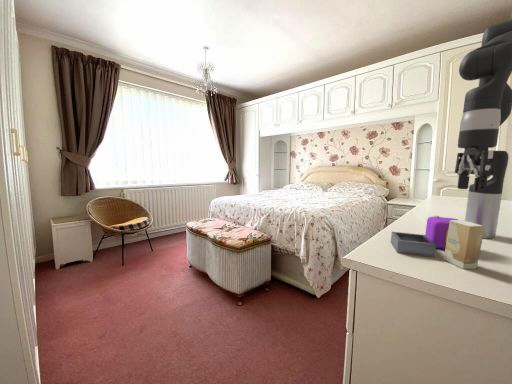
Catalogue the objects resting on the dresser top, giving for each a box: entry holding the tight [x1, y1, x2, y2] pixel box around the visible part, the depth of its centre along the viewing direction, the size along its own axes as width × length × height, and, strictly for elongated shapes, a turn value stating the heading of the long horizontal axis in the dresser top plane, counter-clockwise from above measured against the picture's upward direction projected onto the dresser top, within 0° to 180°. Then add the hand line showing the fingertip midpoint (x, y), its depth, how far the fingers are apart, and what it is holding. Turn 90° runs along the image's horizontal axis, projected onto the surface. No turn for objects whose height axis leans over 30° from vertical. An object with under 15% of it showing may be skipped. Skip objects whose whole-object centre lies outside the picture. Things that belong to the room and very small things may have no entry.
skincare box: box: [443, 219, 485, 270], centre depth 64 cm, size 6×4×12 cm
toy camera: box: [424, 214, 459, 250], centre depth 78 cm, size 11×14×10 cm
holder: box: [390, 231, 437, 258], centre depth 75 cm, size 10×10×4 cm
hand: (470, 190), depth 62 cm, fingers open, 8 cm apart
